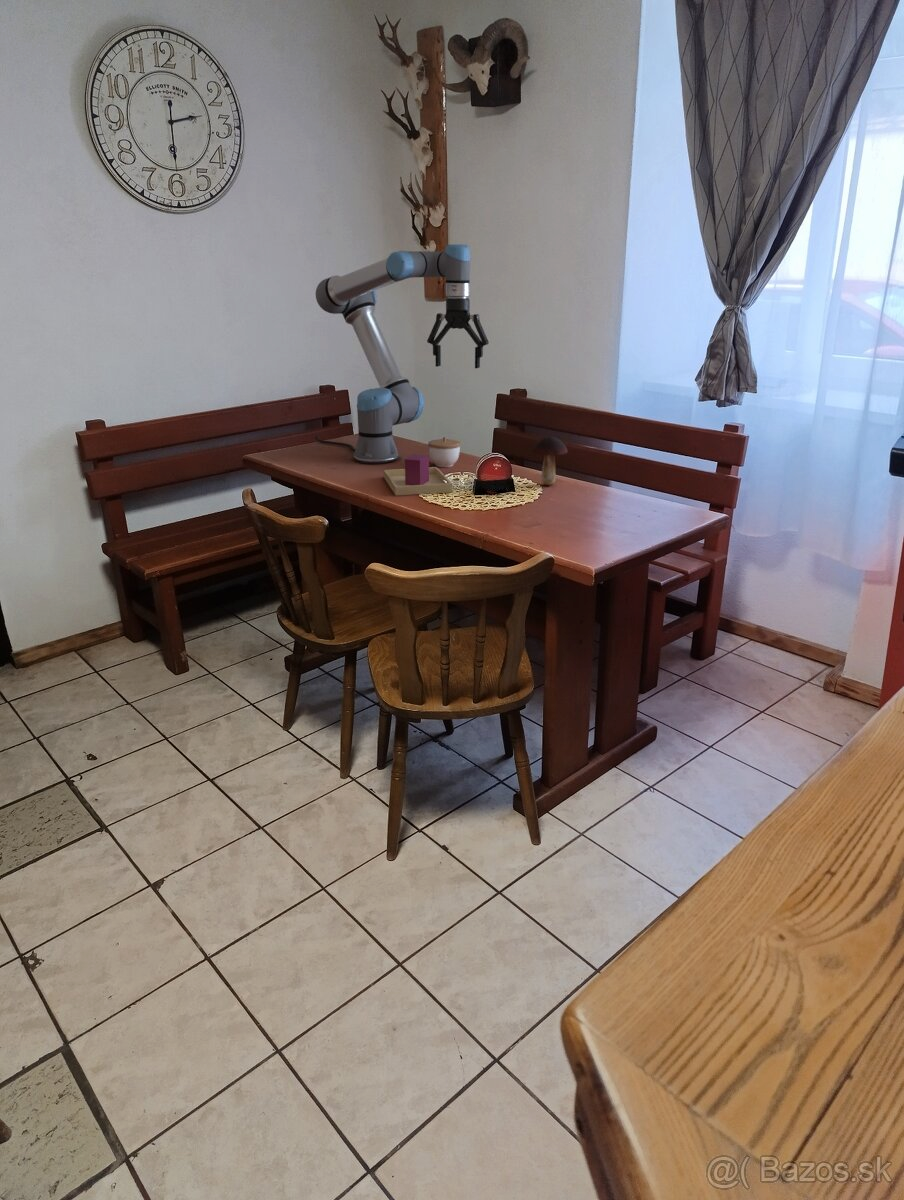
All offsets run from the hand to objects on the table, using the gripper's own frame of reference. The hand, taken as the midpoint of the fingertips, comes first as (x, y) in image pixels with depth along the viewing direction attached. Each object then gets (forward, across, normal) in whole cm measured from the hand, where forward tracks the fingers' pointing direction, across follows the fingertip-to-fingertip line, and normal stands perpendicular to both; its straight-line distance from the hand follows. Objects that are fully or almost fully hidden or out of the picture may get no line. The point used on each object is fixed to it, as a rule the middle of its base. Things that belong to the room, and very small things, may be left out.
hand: (457, 367), depth 265 cm
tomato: (+32, +23, -30) cm, 50 cm away
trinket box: (+32, -3, -4) cm, 32 cm away
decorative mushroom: (+32, +36, -18) cm, 51 cm away
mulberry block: (+31, -2, -31) cm, 44 cm away
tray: (+32, -2, -31) cm, 45 cm away
